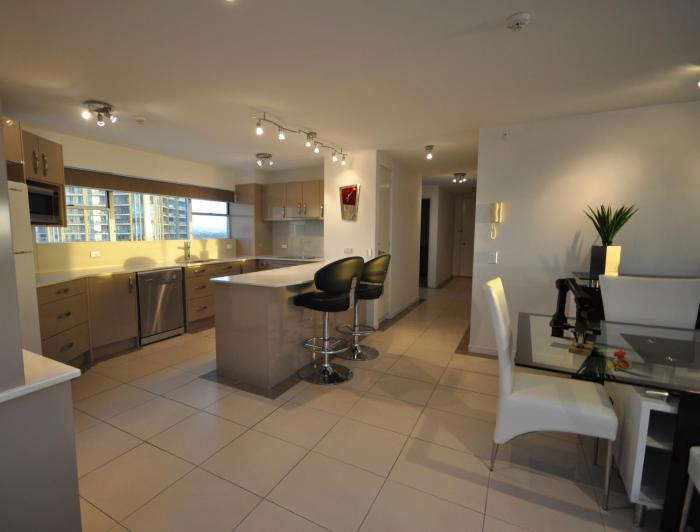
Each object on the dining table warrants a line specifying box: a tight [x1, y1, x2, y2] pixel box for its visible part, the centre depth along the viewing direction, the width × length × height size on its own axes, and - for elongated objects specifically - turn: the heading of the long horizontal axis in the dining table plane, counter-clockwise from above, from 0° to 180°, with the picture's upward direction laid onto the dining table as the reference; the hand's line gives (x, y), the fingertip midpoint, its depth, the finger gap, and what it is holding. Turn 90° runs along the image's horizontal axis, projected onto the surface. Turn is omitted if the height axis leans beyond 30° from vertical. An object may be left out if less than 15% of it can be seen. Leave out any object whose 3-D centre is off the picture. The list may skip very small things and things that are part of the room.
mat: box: [549, 341, 571, 350], centre depth 205 cm, size 9×10×1 cm
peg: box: [577, 332, 585, 349], centre depth 194 cm, size 3×3×10 cm
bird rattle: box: [608, 348, 634, 372], centre depth 168 cm, size 6×11×9 cm
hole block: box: [568, 338, 595, 357], centre depth 198 cm, size 10×20×3 cm, turn 138°
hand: (580, 343), depth 194 cm, fingers closed on peg, 3 cm apart
